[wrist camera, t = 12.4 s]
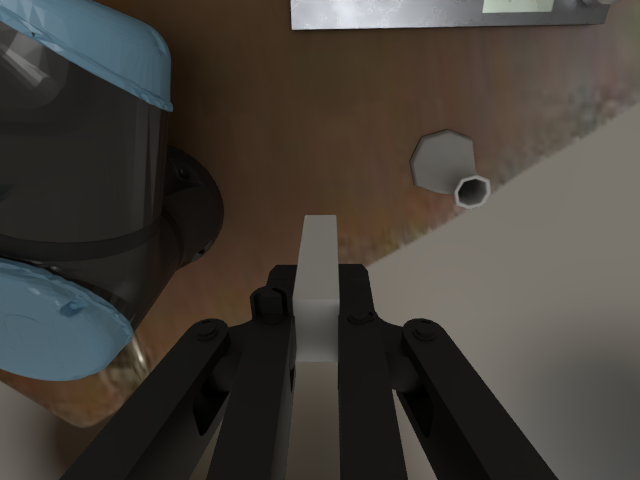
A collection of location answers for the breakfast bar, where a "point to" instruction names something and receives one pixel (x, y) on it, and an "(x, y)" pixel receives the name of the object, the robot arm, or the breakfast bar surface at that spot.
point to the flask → (449, 168)
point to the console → (444, 13)
